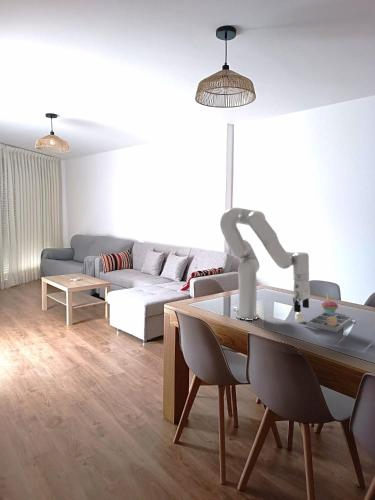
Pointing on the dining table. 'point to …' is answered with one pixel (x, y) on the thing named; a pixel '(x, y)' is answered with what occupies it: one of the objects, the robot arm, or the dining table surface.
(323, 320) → the egg tray
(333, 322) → the brown egg
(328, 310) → the cupcake
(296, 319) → the cream egg
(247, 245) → the robot arm
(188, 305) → the dining table surface
